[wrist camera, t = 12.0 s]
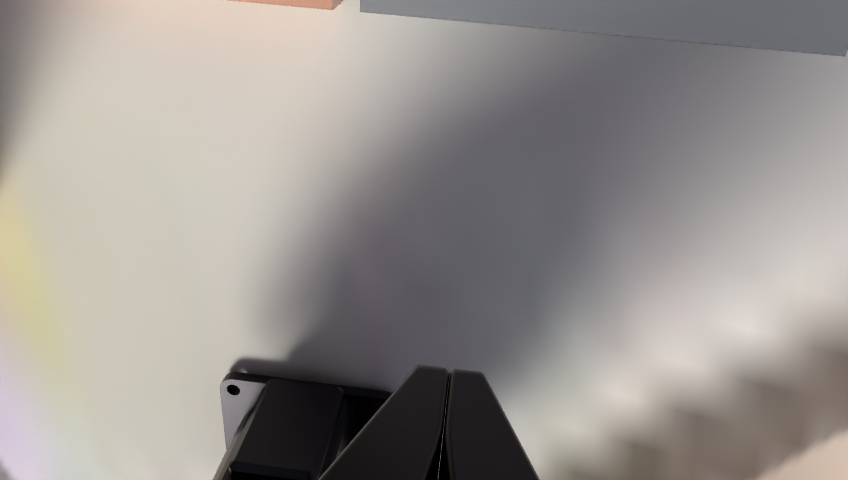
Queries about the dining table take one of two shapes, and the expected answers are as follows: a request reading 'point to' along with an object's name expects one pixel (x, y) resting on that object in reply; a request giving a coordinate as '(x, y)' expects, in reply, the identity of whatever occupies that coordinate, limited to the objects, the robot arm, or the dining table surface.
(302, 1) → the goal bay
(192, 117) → the dining table surface
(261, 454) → the robot arm
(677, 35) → the walled tunnel
